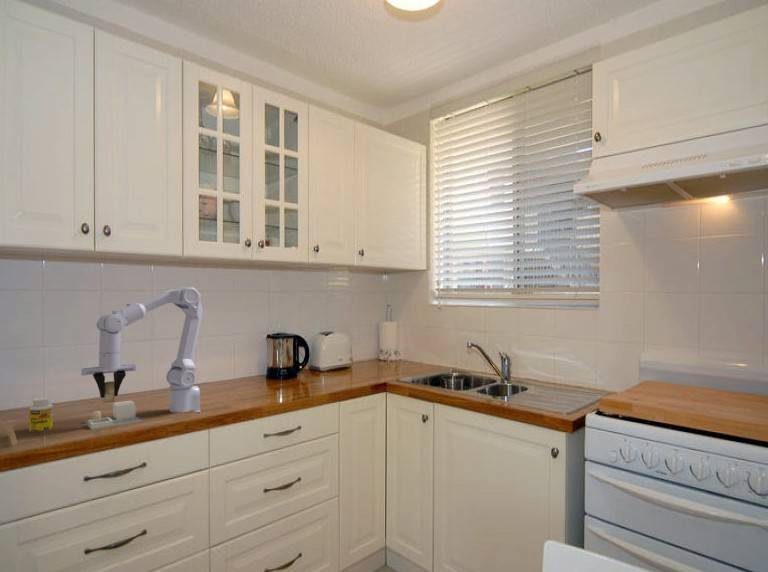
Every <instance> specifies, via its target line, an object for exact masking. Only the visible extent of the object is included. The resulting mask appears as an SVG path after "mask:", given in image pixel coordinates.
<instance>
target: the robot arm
mask: <svg viewBox="0 0 768 572" xmlns="http://www.w3.org/2000/svg"><path fill="white" fill-rule="evenodd" d="M201 299H202V294H200V292H199V291H198V289H196V288H195V287H192V286H187V287H177V286H175V288H172V289H168V290H166V291H163V292H161V293H160V294H158V295H156V296H153V297H151V298H150V299H148V300H145V301H144V302H141V303H139V302H128V303H126V306H124V307H122V308H119V309H112V313H106V314H103V315H101V316H100V317H99V318H98V320H97V322H96V323H95V325H96V328H97V329H98V330H99V345H98V350H99V351H98V366H94V367H93V366H92V367H85V368H81V370H80V371H81V374H80V375H81V376H89V375H90V376H91V375H92V377H93V379H94V381H95V383H96V385H97V388H98V391H99V396H100V398H102V399H103V398H104V382H106V381H105V380H106V376H105V374H113V382H115V397H117V396H118V395H119V390H120V387H121V384H122V382H123V381H124V378H125V377H126V375H127V372H130V371H131V372H137V364H135V363H134V364H133V363H132V364H121V351H122V349H121V346H122V345H121V343H122V335H121V333H122V331H123V329H124V328H125V327H126V326H129V325H132V324H133V323H135V322H137V321H140V320H142V319H144V318H145V316H146V313H148V312H150V311H152V310H155V309H158V308H159V307H163V306H164V305H167V304H173V305H175V306H176V307H178V308H179V309H180V310H181V311H182V312H183V313H184V314H185V316H184V317H185V318H184V321H183V327H182V331H181V336H180V341H179V346H178V348H177V349H178V350H177V354H176V359H175V360H173V362H172V363H171V366H170V368H169V370H168V371H167V373H166V376H165V377H166V381H167V383H168V384H169V412H170V413H174V414H175V413H177V414H178V413H185V412H190V411H193V412H196V413H198V412H199V413H201V391H200V388H199V386H197V385H194V384H195V383H196V380H197V374H196V369H197V366H196V363H194V356H195V354H196V353H195V352H196V347H197V342H198V338H199V332H200V329H201V325H202V324H201V322H202V318H203V314H204V309H203V306H202V302H201Z"/></svg>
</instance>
